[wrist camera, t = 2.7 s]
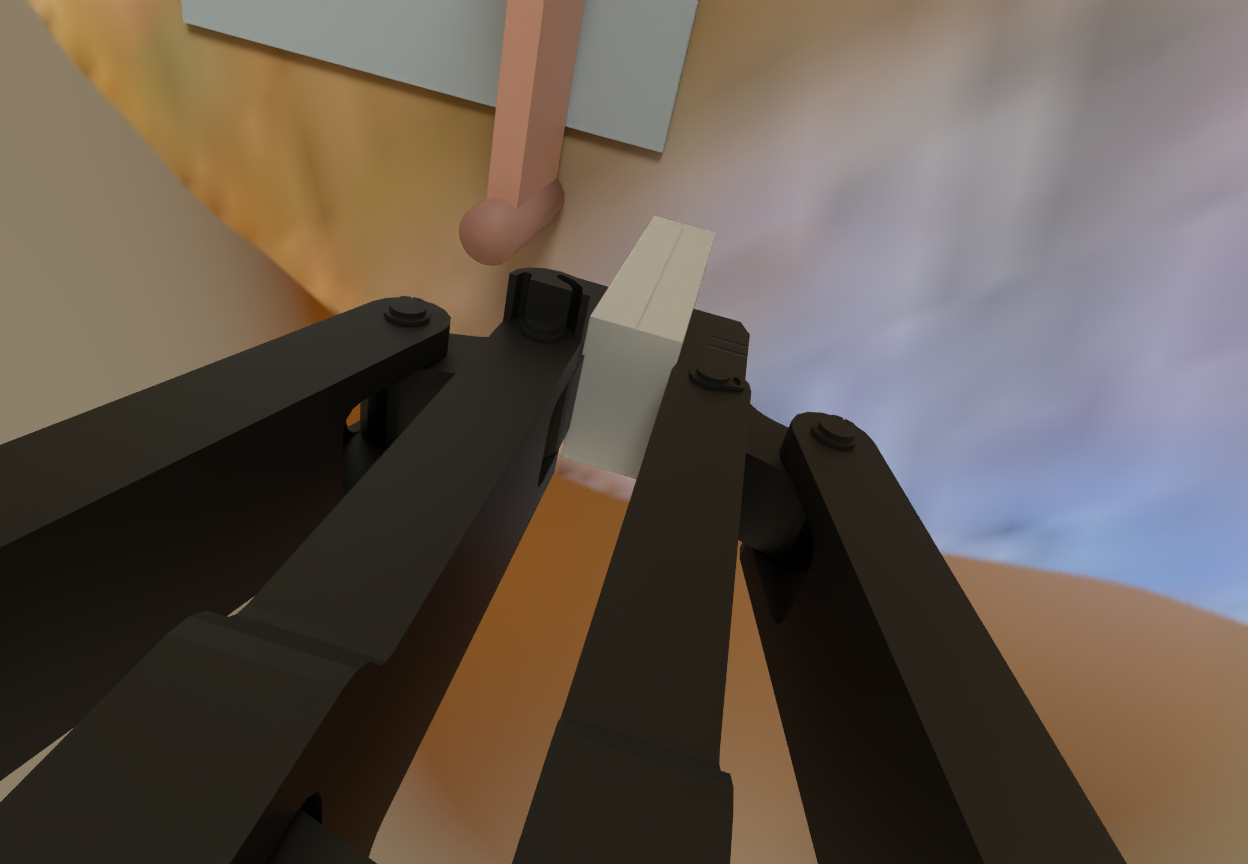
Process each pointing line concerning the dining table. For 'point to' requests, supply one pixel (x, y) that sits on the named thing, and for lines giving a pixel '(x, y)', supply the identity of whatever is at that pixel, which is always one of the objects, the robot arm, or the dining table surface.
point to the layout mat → (483, 50)
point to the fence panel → (526, 129)
